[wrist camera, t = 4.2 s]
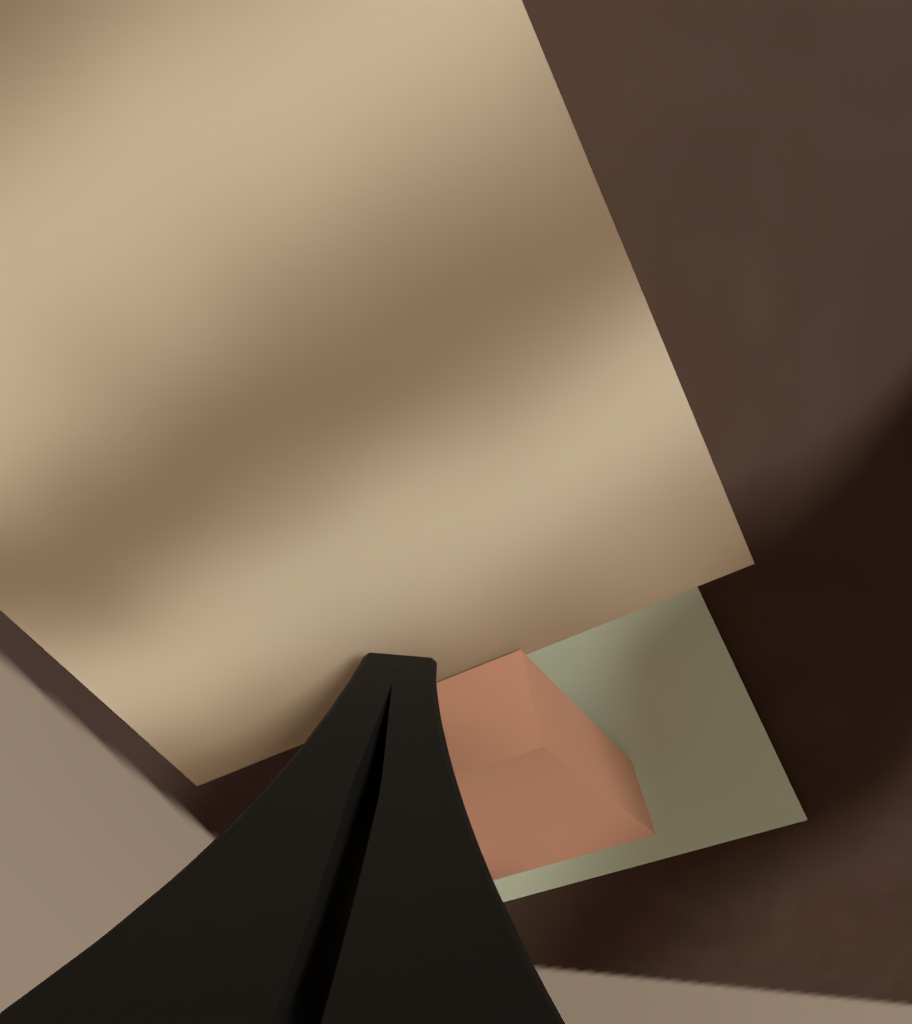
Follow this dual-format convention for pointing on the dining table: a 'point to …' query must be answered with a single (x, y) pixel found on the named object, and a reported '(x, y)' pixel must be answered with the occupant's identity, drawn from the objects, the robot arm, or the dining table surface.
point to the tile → (535, 769)
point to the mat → (668, 736)
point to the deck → (317, 361)
